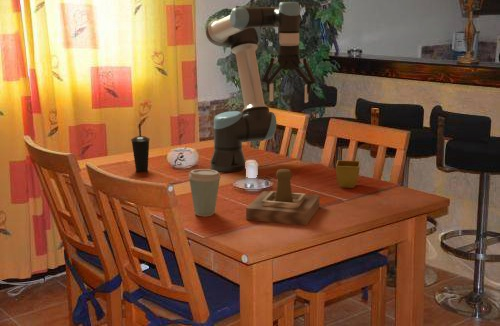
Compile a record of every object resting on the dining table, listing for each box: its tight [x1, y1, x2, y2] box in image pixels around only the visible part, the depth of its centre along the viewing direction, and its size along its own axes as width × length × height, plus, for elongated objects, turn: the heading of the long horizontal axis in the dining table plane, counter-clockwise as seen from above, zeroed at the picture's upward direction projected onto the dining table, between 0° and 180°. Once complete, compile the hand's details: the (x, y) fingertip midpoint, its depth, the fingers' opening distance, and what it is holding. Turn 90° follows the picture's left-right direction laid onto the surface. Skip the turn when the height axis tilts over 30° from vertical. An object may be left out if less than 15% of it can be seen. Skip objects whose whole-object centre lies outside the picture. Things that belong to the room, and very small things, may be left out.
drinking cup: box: [130, 123, 151, 173], centre depth 279 cm, size 8×8×20 cm
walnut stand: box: [245, 190, 321, 226], centre depth 226 cm, size 20×20×6 cm
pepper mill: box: [275, 168, 293, 203], centre depth 224 cm, size 6×6×11 cm
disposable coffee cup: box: [188, 168, 221, 217], centre depth 224 cm, size 11×11×15 cm
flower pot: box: [335, 159, 361, 189], centre depth 256 cm, size 9×9×9 cm
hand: (288, 101), depth 255 cm, fingers open, 13 cm apart
